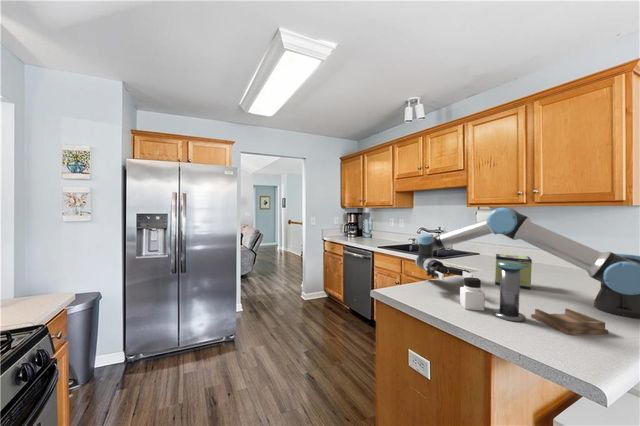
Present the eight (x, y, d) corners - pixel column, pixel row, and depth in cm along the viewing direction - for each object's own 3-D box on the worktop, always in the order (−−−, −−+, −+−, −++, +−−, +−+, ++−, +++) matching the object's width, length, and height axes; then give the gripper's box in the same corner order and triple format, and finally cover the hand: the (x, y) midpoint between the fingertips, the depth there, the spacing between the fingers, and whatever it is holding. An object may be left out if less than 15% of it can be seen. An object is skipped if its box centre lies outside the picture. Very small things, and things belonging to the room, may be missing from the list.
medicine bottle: (484, 311, 107) (485, 280, 107) (464, 309, 108) (465, 279, 108) (477, 304, 114) (478, 276, 114) (459, 303, 115) (460, 275, 115)
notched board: (566, 316, 102) (566, 307, 102) (608, 334, 88) (608, 323, 88) (531, 317, 101) (531, 307, 101) (568, 334, 87) (568, 323, 87)
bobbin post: (511, 311, 107) (512, 260, 107) (532, 321, 97) (534, 266, 97) (487, 311, 106) (488, 260, 106) (506, 322, 96) (508, 266, 96)
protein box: (531, 289, 138) (532, 259, 137) (494, 284, 146) (495, 256, 146) (528, 285, 147) (529, 256, 146) (494, 280, 155) (495, 253, 155)
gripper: (456, 274, 143) (483, 285, 122) (410, 273, 141) (430, 285, 120) (457, 260, 143) (484, 269, 122) (411, 259, 141) (430, 268, 120)
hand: (457, 277), depth 121 cm, fingers open, 13 cm apart
